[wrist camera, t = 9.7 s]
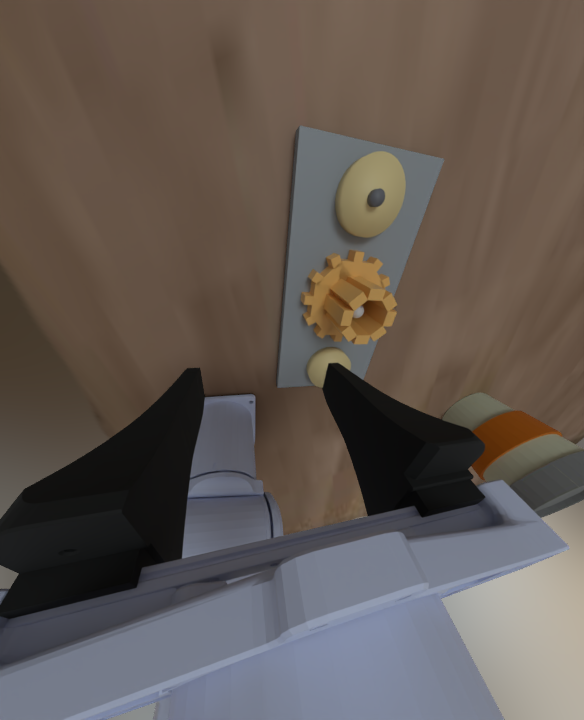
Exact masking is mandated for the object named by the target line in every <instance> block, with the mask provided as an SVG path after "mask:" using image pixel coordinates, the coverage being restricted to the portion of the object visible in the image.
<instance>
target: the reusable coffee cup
mask: <svg viewBox="0 0 584 720" xmlns="http://www.w3.org/2000/svg"><path fill="white" fill-rule="evenodd" d="M442 420H444V421H447V422H450V423H453V424H456V425H459V426H463V427H466V428H468V429H470V430H471V431H472V432H473V433H474V434H475V435H476V436H477V437H478V438H479V439H480V440H481V441H483V443H484V444H485V450H484V452H483V454H482V455H481V456H480V457H479V458H478V459H477V460H476V461H475V462H474V463H473V464H472V465H471V466H472V468H473V469H474V470H475V472H476V473H477V474H478V476H479V477H480V478H481V479H482V480H486V481H487V482H489V481H494V480H498V479H501V480H503V481H504V482H505V483H506V484H507V485H508V486H509V487H510V488H511V489H512V490H513V491H514V492H515V493H516V494H517V495H518V496H519V497H520V498H521V499H522V500H523V501H524V502H525V503H526V504H527V505H528V506H529V507H530V508H531V509H532V510H533V511H534V512H535V513H536V514H537V515H538V516H539V517H540V518H541V517H544V516H547V515H550V514H552V513H555V512H557V511H559V510H562V509H564V508H567V507H569V506H571V505H573V504H575V503H578V502H580V501H582V500H583V499H584V449H582V448H580V447H579V446H577V445H575V444H573V443H572V442H570V441H568V440H566V439H565V438H563V437H562V434H561V433H560V432H558V431H557V430H555V429H553V428H551V427H549V426H548V425H546V424H544V423H542V422H540V421H539V420H537V419H535V418H533V417H531V416H530V415H528V414H526V413H524V412H522V411H515V410H513V409H512V408H510V407H508V406H506V405H505V404H503V403H501V402H499V401H497V400H496V399H494V398H492V397H490V396H489V395H487V394H485V393H476V394H472V395H469V396H467V397H465V398H463V399H461V400H459V401H458V402H457V403H455V404H454V405H453V406H451V407H450V408H449V409H448V410H447V412H446V413H445V414H444V416H443V418H442Z"/></svg>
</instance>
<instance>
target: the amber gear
mask: <svg viewBox="0 0 584 720" xmlns="http://www.w3.org/2000/svg"><path fill="white" fill-rule="evenodd" d="M364 253H365V252H362V251H358V250H349V254H348V259H341V258H340V255H338V254H336V253H333V254H331V255H329V256H327V257H326V260H327V263H328V267H326V268H325V269H324V270H323V271H322V272H321V273H320V274H319V273H318V272H317V271H315V270H314V269H312V271H311V272H310V274H309V275H308V277H309V278H310V279H311V280H312V281H311V287H310V292H302V293H301V301H302V303H303V304H304V305H308V307H307V312H306V313H304V314H303V316H304V319H305V321H306V322H307V324H308V326H309V325H311V324H313V323H315V322H316V323H317V325H316V327H315V328H314V329H313V330H314V332H315V333H316V335H317V336H319V337H321V338H322V339H323V337H324V336H325V335H330V337H331V338H332V339H333V341H334V342H341V341H342V337H343V336H344V337H345V338H346V339H347V341H348V342H350V341H352V343H353V344H368V341H369V338H370V339H372V340H373V341H376V340H377V339H378V338H380V337H381V336H382V335H384V334H385V333H386V330H385V329H384V327H383V326H392V324H393V321H394V318H395V316H396V313H397V312H396V311H395V310H393V308H394V307H395V306H397V303H396V301H395V299H394V297H393V295H392V293H390V292H388V291H386V289H385V287H387V286H389V285H390V280H389V277H388V276H386V275H383V274H380V275H378V273H377V271H378V270H379V269H380V267H381V266H382V265H383V263H382V262H381V261H380V260H379V259H378V258H374V257H371V256H370V257H369V259H368V260H367V261H363V257H364ZM361 305H362V306H363V308H364V313H363V315H362V316H361V317H360V318H353V314H354V311H355V310H356V309H357V308H359V307H360V306H361Z"/></svg>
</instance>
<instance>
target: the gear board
mask: <svg viewBox="0 0 584 720" xmlns="http://www.w3.org/2000/svg"><path fill="white" fill-rule="evenodd" d="M443 161H444V159H442V158H437V157H433V156H429V155H425V154H420V153H416V152H412V151H407V150H403V149H399V148H394V147H390V146H386V145H382V144H377V143H373V142H369V141H364V140H360V139H356V138H351V137H347V136H343V135H338V134H334V133H330V132H326V131H321V130H317V129H313V128H308V127H304V126H299V127H298V129H297V130H296V138H295V151H294V164H293V177H292V189H291V202H290V215H289V227H288V240H287V253H286V265H285V278H284V291H283V303H282V316H281V329H280V341H279V354H278V367H277V379H276V383H277V388H283V387H299V386H317V387H321V388H323V384H324V380H325V376H326V372H327V367H328V363H339V364H341V365H343V366H344V367H345V368H347V369H348V370H350V371H351V372H352V373H354V374H355V375H357V376H358V377H359V378H361V379H362V380H363V379H364V376H365V374H366V371H367V368H368V366H369V363H370V360H371V357H372V355H373V352H374V349H375V346H376V344H377V341H378V339H377V340H376V341H373V340H372V339H370V338H369V341H368V344H353V343H352V341H350V342H348V341H347V339H346V338H345V337H344V336H343V337H342V341H341V342H334V341H333V339H332V338H331V337H330V335H325V336H324V337H323V339H322V338H321V337H319V336H317V335H316V333H315V332H314V330H313V329H314V328H315V327H316V325H317V323H316V322H315V323H313V324H311V325H309V326H308V324H307V322H306V321H305V319H304V316H303V314H304V313H306V312H307V307H308V305H304V304H303V303H302V301H301V293H302V292H310V287H311V281H312V280H311V279H310V278H309V277H308V275H309V274H310V272H311V271H312V269H314V270H315V271H317V272H318V273H319V274H320V273H321V272H322V271H323V270H324V269H325V268H326V267H328V263H327V260H326V257H327V256H329V255H331V254H333V253H336V254H338V255H340V258H341V259H348V254H349V250H358V251H362V252H365V253H364V257H363V261H367V260H368V259H369V257H370V256H371V257H374V258H378V259H379V260H380V261H381V262H382V263H383V265H382V266H381V267H380V269H379V270H378V271H377V273H378V275H380V274H383V275H386V276H388V277H389V280H390V285H389V286H387V287H385V289H386V291H388V292H390V293H392V295H393V297H394V295H395V292H396V289H397V287H398V284H399V281H400V278H401V276H402V273H403V270H404V268H405V265H406V262H407V259H408V257H409V254H410V251H411V249H412V246H413V243H414V240H415V238H416V235H417V232H418V229H419V227H420V224H421V221H422V219H423V216H424V213H425V210H426V208H427V205H428V202H429V200H430V197H431V194H432V191H433V189H434V186H435V183H436V180H437V178H438V175H439V172H440V170H441V167H442V164H443ZM363 313H364V308H363V306H362V305H361V306H360V307H359V308H357V309H356V310H355V311H354V314H353V318H360V317H361V316H362V315H363Z"/></svg>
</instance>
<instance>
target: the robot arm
mask: <svg viewBox="0 0 584 720" xmlns="http://www.w3.org/2000/svg"><path fill="white" fill-rule="evenodd" d="M322 389H323V393H324V396H325V399H326V402H327V405H328V407H329V409H330V411H331V413H332V415H333V417H334V419H335V421H336V423H337V425H338V427H339V430H340V432H341V434H342V436H343V438H344V440H345V443H346V446H347V449H348V451H349V454H350V457H351V460H352V463H353V466H354V469H355V472H356V475H357V478H358V482H359V485H360V488H361V492H362V495H363V499H364V503H365V507H366V511H367V514H368V516H367V517H363V518H359V519H354V520H350V521H345V522H341V523H336V524H332V525H328V526H323V527H319V528H314V529H310V530H306V531H301V532H297V533H292V534H288V535H284V536H283V525H282V518H281V513H280V509H279V507H278V504H277V502H276V501H275V499H274V497H273V496H272V495H271V493H269V492H264V491H263V481H262V480H256V466H255V452H254V443H255V395H253V394H246V395H231V396H217V397H205V395H204V389H203V383H202V377H201V371H200V368H187V369H186V370H185V371H184V372H183V373H182V375H181V376H180V377H179V378H178V379H177V380H176V381H175V382H174V384H173V385H172V386H171V387H170V388H169V389H168V390H167V391H166V392H165V393H164V394H163V395H162V396H161V397H160V398H159V399H158V400H157V401H156V402H155V403H154V404H153V405H152V406H151V407H150V408H149V409H148V410H146V411H145V412H144V413H143V414H142V415H141V416H140V417H138V418H137V419H136V420H135V421H133V422H132V423H131V424H130V425H128V426H127V427H126V428H124V429H123V430H121V431H120V432H119V433H117V434H116V435H114V436H113V437H111V438H110V439H109V440H107V441H106V442H105V443H103V444H102V445H100V446H98V447H97V448H95V449H94V450H92V451H91V452H89V453H87V454H86V455H84V456H82V457H81V458H79V459H77V460H76V461H74V462H72V463H71V464H69V465H67V466H66V467H64V468H62V469H60V470H58V471H57V472H55V473H53V474H51V475H49V476H47V477H46V478H44V479H42V480H40V481H38V482H37V483H35V484H33V485H31V486H29V487H27V488H25V489H24V490H23V492H22V493H21V494H20V495H19V496H18V497H17V499H16V500H15V501H14V503H13V504H12V505H11V506H10V508H9V509H8V510H7V512H6V513H5V514H4V515H3V517H2V518H1V519H0V565H1V566H4V567H6V568H8V569H10V570H13V571H15V572H17V573H19V575H18V576H17V578H16V580H15V581H14V583H13V584H12V586H11V588H10V589H0V720H107V719H109V718H112V717H115V716H118V715H120V714H124V713H126V712H129V711H132V710H135V709H138V708H141V707H144V706H146V705H149V704H152V703H155V702H156V706H155V712H154V717H153V720H505V719H504V718H503V716H502V714H501V712H500V710H499V708H498V706H497V704H496V703H495V701H494V699H493V697H492V695H491V693H490V691H489V689H488V687H487V686H486V684H485V682H484V680H483V678H482V676H481V674H480V672H479V671H478V668H477V667H476V665H475V663H474V661H473V659H472V657H471V655H470V653H469V651H468V650H467V648H466V646H465V644H464V642H463V640H462V638H461V636H460V634H459V633H458V631H457V629H456V627H455V625H454V623H453V621H452V619H451V618H450V616H449V614H448V612H447V610H446V608H445V606H444V604H443V602H442V600H441V599H442V598H444V597H447V596H450V595H452V594H455V593H458V592H460V591H463V590H466V589H468V588H471V587H474V586H476V585H479V584H482V583H484V582H487V581H490V580H493V579H495V578H498V577H501V576H503V575H506V574H509V573H512V572H514V571H517V570H520V569H523V568H525V567H527V566H530V565H532V564H535V563H537V562H539V561H542V560H544V559H547V558H549V557H552V556H554V555H556V554H559V553H561V552H564V551H566V550H568V549H569V546H568V545H567V544H566V543H565V542H564V541H563V540H562V539H561V538H560V537H559V536H558V535H557V534H556V533H555V532H554V531H553V530H552V529H551V528H550V527H549V526H548V525H547V524H546V523H545V522H544V521H543V520H542V519H541V518H540V517H539V516H538V515H537V514H536V513H535V512H534V511H533V510H532V509H531V508H530V507H529V506H528V505H527V504H526V503H525V502H524V501H523V500H522V499H521V498H520V497H519V496H518V495H517V494H516V493H515V492H514V491H513V490H512V489H511V488H510V487H509V486H508V485H507V484H506V483H505V482H504V481H503V480H501V479H498V480H494V481H489V482H484V483H481V484H479V485H477V486H475V484H474V483H473V482H472V481H471V480H470V479H473V475H472V474H471V473H470V472H469V470H468V468H469V467H470V466H471V465H472V464H473V463H474V462H475V461H476V460H477V459H478V458H479V457H480V456H481V455H482V454H483V452H484V450H485V444H484V443H483V441H481V440H480V439H479V438H478V437H477V436H476V435H475V434H474V433H473V432H472V431H471V430H470V429H468V428H466V427H463V426H459V425H456V424H453V423H450V422H447V421H444V420H441V419H438V418H436V417H433V416H430V415H428V414H425V413H423V412H420V411H418V410H416V409H413V408H411V407H409V406H407V405H405V404H403V403H401V402H399V401H397V400H395V399H393V398H391V397H389V396H387V395H386V394H384V393H382V392H381V391H379V390H377V389H376V388H374V387H373V386H371V385H370V384H368V383H367V382H365V381H364V380H362V379H361V378H359V377H358V376H357V375H355V374H354V373H352V372H351V371H350V370H348V369H347V368H345V367H344V366H343V365H341V364H339V363H328V367H327V372H326V376H325V380H324V384H323V388H322Z"/></svg>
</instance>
